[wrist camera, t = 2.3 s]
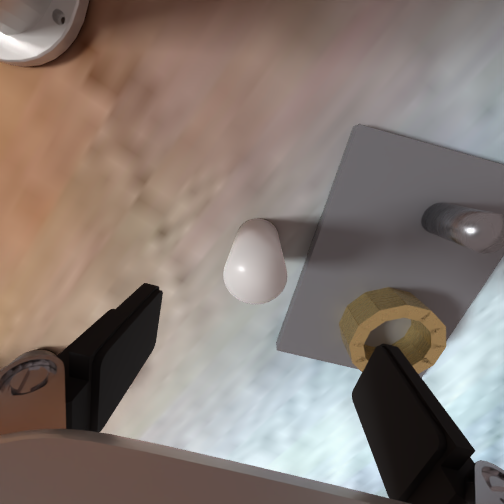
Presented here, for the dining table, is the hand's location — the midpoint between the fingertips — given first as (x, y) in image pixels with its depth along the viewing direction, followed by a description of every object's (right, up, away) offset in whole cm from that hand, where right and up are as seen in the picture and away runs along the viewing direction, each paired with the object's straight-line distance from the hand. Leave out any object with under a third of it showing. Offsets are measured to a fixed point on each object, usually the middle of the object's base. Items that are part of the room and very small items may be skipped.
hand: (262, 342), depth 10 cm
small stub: (+15, +7, +10) cm, 19 cm away
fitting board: (+13, +2, +13) cm, 18 cm away
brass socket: (+12, -3, +14) cm, 19 cm away
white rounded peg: (0, +5, +12) cm, 13 cm away
